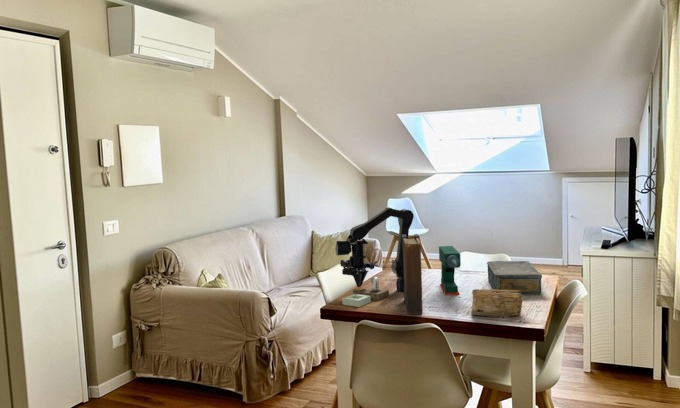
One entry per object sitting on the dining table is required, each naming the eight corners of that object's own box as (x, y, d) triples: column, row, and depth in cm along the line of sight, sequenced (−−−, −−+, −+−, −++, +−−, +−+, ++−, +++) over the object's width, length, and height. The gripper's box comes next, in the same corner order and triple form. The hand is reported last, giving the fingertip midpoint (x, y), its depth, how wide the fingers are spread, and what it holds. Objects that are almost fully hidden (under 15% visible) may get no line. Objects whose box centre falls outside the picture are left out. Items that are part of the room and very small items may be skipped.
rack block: (370, 303, 245) (370, 295, 245) (359, 307, 238) (358, 300, 238) (354, 300, 250) (354, 293, 250) (342, 305, 243) (342, 298, 243)
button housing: (366, 295, 259) (365, 288, 259) (360, 297, 256) (360, 290, 256) (358, 294, 262) (358, 287, 262) (353, 296, 258) (352, 289, 258)
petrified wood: (520, 308, 224) (520, 286, 221) (522, 325, 212) (523, 301, 209) (471, 306, 229) (471, 284, 226) (471, 322, 217) (471, 299, 214)
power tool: (465, 302, 239) (464, 257, 238) (449, 302, 239) (448, 257, 238) (454, 285, 271) (453, 245, 269) (439, 286, 271) (438, 246, 270)
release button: (363, 293, 259) (363, 286, 259) (360, 295, 257) (360, 287, 256) (358, 292, 261) (358, 285, 261) (355, 294, 259) (354, 286, 258)
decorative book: (404, 300, 246) (401, 234, 244) (420, 300, 246) (417, 234, 244) (406, 315, 223) (404, 242, 221) (424, 315, 223) (421, 242, 220)
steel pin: (380, 296, 254) (379, 277, 253) (376, 298, 251) (375, 278, 250) (374, 295, 256) (373, 276, 255) (370, 297, 253) (369, 278, 252)
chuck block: (388, 296, 254) (388, 290, 254) (378, 301, 247) (378, 294, 247) (372, 294, 260) (372, 288, 259) (362, 299, 253) (361, 292, 252)
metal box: (529, 279, 278) (529, 260, 277) (543, 295, 246) (543, 273, 245) (486, 280, 281) (485, 261, 280) (494, 296, 249) (494, 274, 248)
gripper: (355, 249, 270) (356, 280, 271) (332, 255, 255) (333, 288, 256) (374, 251, 263) (375, 283, 264) (351, 257, 248) (353, 291, 249)
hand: (359, 286), depth 259 cm, fingers closed
